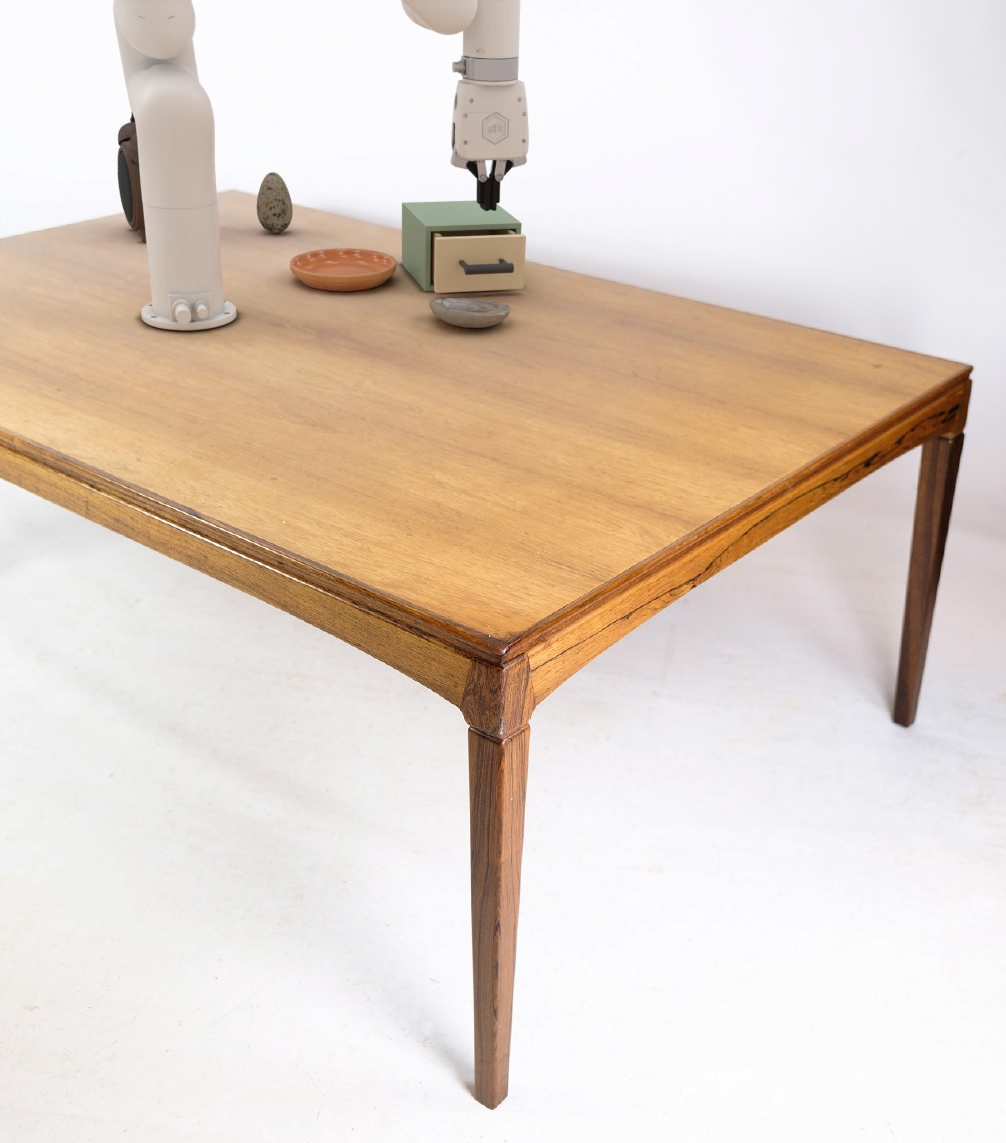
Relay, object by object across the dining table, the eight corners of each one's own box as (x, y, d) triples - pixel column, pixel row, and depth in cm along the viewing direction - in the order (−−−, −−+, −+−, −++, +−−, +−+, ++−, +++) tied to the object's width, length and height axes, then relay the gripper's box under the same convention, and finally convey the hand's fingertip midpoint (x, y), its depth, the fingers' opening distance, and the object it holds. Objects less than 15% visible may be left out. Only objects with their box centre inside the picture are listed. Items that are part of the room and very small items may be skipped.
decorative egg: (300, 233, 220) (298, 172, 215) (274, 238, 216) (271, 177, 211) (277, 226, 223) (274, 167, 218) (250, 232, 219) (247, 171, 214)
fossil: (471, 312, 185) (473, 292, 184) (523, 330, 177) (524, 309, 176) (412, 318, 179) (413, 297, 178) (463, 336, 171) (464, 315, 170)
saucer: (281, 292, 188) (280, 272, 187) (300, 264, 202) (299, 245, 201) (391, 297, 188) (391, 277, 186) (402, 268, 202) (401, 249, 201)
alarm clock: (117, 227, 219) (104, 103, 210) (160, 224, 222) (149, 101, 212) (134, 247, 207) (121, 117, 198) (179, 244, 210) (168, 115, 201)
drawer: (533, 298, 187) (536, 244, 183) (444, 302, 183) (445, 247, 180) (496, 263, 203) (497, 213, 200) (413, 267, 200) (413, 216, 196)
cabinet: (519, 287, 195) (521, 223, 191) (425, 291, 191) (425, 226, 187) (490, 260, 208) (492, 200, 204) (401, 264, 204) (401, 202, 200)
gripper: (443, 75, 168) (443, 217, 177) (552, 73, 172) (546, 212, 181) (429, 67, 175) (430, 205, 183) (534, 66, 179) (530, 201, 187)
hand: (488, 208), depth 182 cm, fingers closed
